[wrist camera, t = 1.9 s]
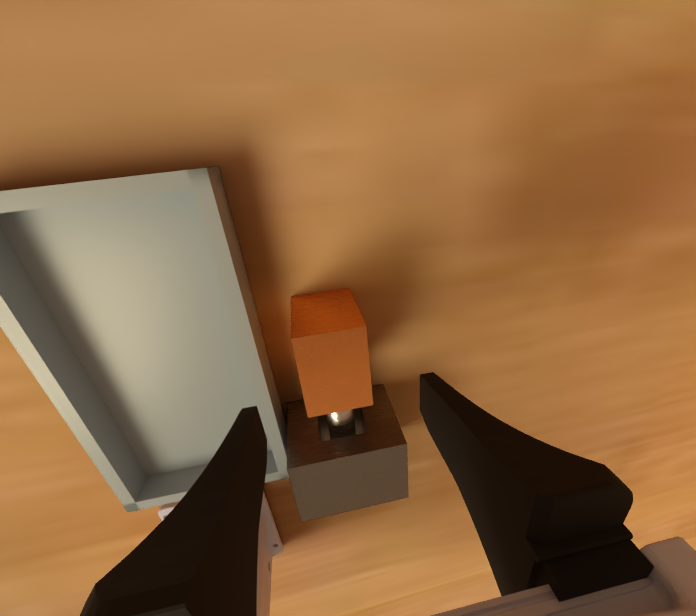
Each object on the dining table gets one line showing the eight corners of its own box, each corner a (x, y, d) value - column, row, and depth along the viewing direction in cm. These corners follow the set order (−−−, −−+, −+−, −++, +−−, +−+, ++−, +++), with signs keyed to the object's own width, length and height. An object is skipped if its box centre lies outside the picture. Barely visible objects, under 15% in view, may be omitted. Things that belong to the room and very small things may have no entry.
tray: (292, 447, 24) (292, 476, 22) (143, 478, 23) (127, 512, 21) (218, 166, 15) (206, 167, 13) (-28, 194, 14) (-86, 200, 12)
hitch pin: (367, 453, 26) (382, 514, 22) (324, 462, 26) (331, 526, 21) (349, 287, 19) (366, 326, 15) (291, 296, 19) (290, 339, 15)
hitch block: (386, 432, 25) (408, 497, 20) (299, 450, 25) (301, 522, 20) (382, 384, 23) (406, 443, 18) (287, 402, 22) (286, 469, 18)
